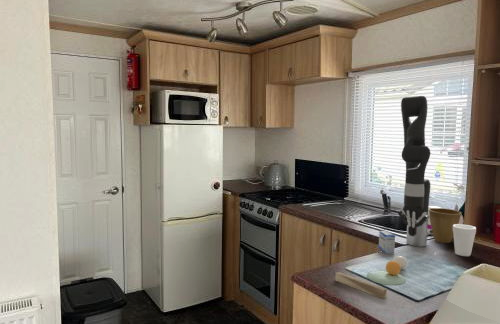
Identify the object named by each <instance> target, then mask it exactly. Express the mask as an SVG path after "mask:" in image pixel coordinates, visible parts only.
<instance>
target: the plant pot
mask: <svg viewBox="0 0 500 324" xmlns="http://www.w3.org/2000/svg"><path fill="white" fill-rule="evenodd" d="M429 215H430V223H431V228H432V232H433V235H432V236H433V238H434V241H435V242H437V243H442V244H450V243H452V240H454V235H453V225H454V224H460V220H461V217H462V212H461V211H458V210H455V209H450V208H442V207H441V208H431V209H429Z"/></svg>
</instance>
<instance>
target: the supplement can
mask: <svg viewBox="0 0 500 324" xmlns="http://www.w3.org/2000/svg"><path fill="white" fill-rule="evenodd" d="M431 208H442V207H441V206H438V205H429V207H428V216H429V219H428V227H427V235H432V236H433V232H432V228H431V223H430V215H429V209H431Z"/></svg>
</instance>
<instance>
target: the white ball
mask: <svg viewBox="0 0 500 324" xmlns="http://www.w3.org/2000/svg"><path fill="white" fill-rule="evenodd" d="M392 261H395V262H397V263H398V264H399V265H400V268H401V270H404V269H406V268H407V266H408V260H407V258H406V257H404V256H402V255H397V256H394V257H393V260H392ZM401 270H400V271H401Z"/></svg>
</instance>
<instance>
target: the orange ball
mask: <svg viewBox="0 0 500 324" xmlns="http://www.w3.org/2000/svg"><path fill="white" fill-rule="evenodd" d="M385 271H387V272H388V273H389V274H390V275H397V274H399V275H400V272H401V268H400V265H399V264H398V263H397V262H395V261H393V260H390V261H388V262H387V263H386V265H385Z"/></svg>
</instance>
